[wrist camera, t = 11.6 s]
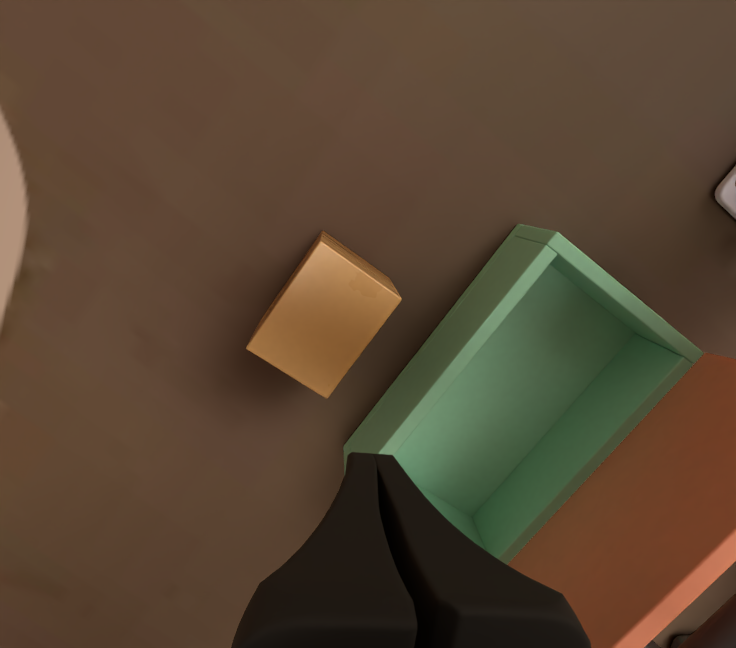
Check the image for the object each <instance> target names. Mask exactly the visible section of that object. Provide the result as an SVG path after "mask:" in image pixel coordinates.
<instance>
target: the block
mask: <svg viewBox="0 0 736 648" xmlns="http://www.w3.org/2000/svg"><path fill="white" fill-rule="evenodd" d="M401 300H402V298H401V297H400V295H399V293H398V292H397V290H396V288H395V287H394V285H393V283H392V282H391V280H390V279H389V277H387V276H386V275H384V274H383V273H382V272H380V271H379V270H378V269H376V268H375V267H373V266H372V265H371V264H369V263H368V262H366V261H365V260H364V259H362V258H361V257H359V256H358V255H357V254H355V253H354V252H352V251H351V250H350V249H348V248H347V247H345V246H344V245H343V244H341V243H340V242H339V241H337V240H336V239H334V238H333V237H332V236H330V235H329V234H327V233H326V232H325V231H322V232H321V233H320V235H319V236H318V238H317V239H316V240H315V242H314V243H313V245H312V246H311V248H310V249H309V251H308V252H307V253H306V255H305V256H304V258H303V259H302V261H301V262H300V264H299V265H298V266H297V268H296V269H295V271H294V272H293V274H292V275H291V277H290V278H289V279H288V281H287V282H286V284H285V285H284V287H283V288H282V290H281V291H280V293H279V294H278V295H277V297H276V298H275V300H274V301H273V303H272V304H271V306H270V307H269V308H268V310H267V311H266V313H265V314H264V316H263V317H262V319H261V321H260V322H259V324H258V326H257V328H256V330H255V332H254V334H253V335H252V337H251V339H250V341H249V343H248V345H247V347H246V349H247V350H249V351H250V352H252V353H254V354H255V355H257V356H259V357H260V358H262V359H263V360H265V361H267V362H268V363H270V364H271V365H273V366H275V367H276V368H278V369H279V370H281V371H283V372H284V373H286V374H287V375H289V376H291V377H292V378H294V379H295V380H297V381H299V382H300V383H302V384H303V385H305V386H307V387H308V388H310V389H312V390H313V391H315V392H316V393H318V394H320V395H321V396H323V397H324V398H326V399H327V398H328V397H329V396H330V394H331V393H332V392H333V390H334V389H335V388H336V386H337V385H338V384H339V382H340V381H341V380H342V378H343V377H344V376H345V374H346V373H347V372H348V370H349V369H350V368H351V366H352V365H353V364H354V362H355V361H356V360H357V359H358V357H359V356H360V355H361V353H362V352H363V351H364V349H365V348H366V347H367V345H368V344H369V343H370V341H371V340H372V339H373V337H374V336H375V335H376V333H377V332H378V331H379V329H380V328H381V327H382V325H383V324H384V323H385V321H386V320H387V319H388V317H389V316H390V315H391V313H392V312H393V311H394V310H395V308H396V307H397V306H398V304H399V303H400V302H401Z"/></svg>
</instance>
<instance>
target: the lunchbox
mask: <svg viewBox="0 0 736 648" xmlns="http://www.w3.org/2000/svg"><path fill="white" fill-rule="evenodd" d="M702 355H703V352H702V351H701V350H700V349H699V348H698V347H696V346H695V345H694V344H693V343H691V342H690V341H689V340H688V339H687V338H685V337H684V336H683V335H682V334H681V333H679V332H678V331H677V330H676V329H675V328H673V327H672V326H671V325H670V324H669V323H667V322H666V321H665V320H664V319H662V318H661V317H660V316H659V315H658V314H656V313H655V312H654V311H653V310H652V309H650V308H649V307H648V306H647V305H646V304H644V303H643V302H642V301H641V300H640V299H638V298H637V297H636V296H635V295H634V294H632V293H631V292H630V291H629V290H627V289H626V288H625V287H624V286H623V285H621V284H620V283H619V282H618V281H617V280H615V279H614V278H613V277H612V276H611V275H609V274H608V273H607V272H606V271H605V270H603V269H602V268H601V267H600V266H598V265H597V264H596V263H595V262H594V261H592V260H591V259H590V258H589V257H588V256H586V255H585V254H584V253H583V252H582V251H580V250H579V249H578V248H577V247H576V246H574V245H573V244H572V243H571V242H569V241H568V240H567V239H566V238H565V237H563V236H562V235H561V234H560V233H559V232H556V231H551V230H546V229H541V228H537V227H532V226H527V225H522V224H517V225H516V227H515V228H514V229H513V230H512V232H511V233H510V234H509V236H508V237H507V238H506V239H505V241H504V242H503V243H502V244H501V246H500V247H499V248H498V250H497V251H496V252H495V253H494V255H493V256H492V257H491V258H490V260H489V261H488V262H487V264H486V265H485V266H484V267H483V269H482V270H481V271H480V273H479V274H478V275H477V276H476V278H475V279H474V280H473V281H472V283H471V284H470V285H469V287H468V288H467V289H466V290H465V292H464V293H463V294H462V295H461V297H460V298H459V299H458V301H457V302H456V303H455V304H454V306H453V307H452V308H451V310H450V311H449V312H448V313H447V315H446V316H445V317H444V318H443V320H442V321H441V322H440V324H439V325H438V326H437V327H436V329H435V330H434V331H433V332H432V334H431V335H430V336H429V338H428V339H427V340H426V341H425V343H424V344H423V345H422V347H421V348H420V349H419V350H418V352H417V353H416V354H415V355H414V357H413V358H412V359H411V361H410V362H409V363H408V364H407V366H406V367H405V368H404V369H403V371H402V372H401V373H400V375H399V376H398V377H397V378H396V380H395V381H394V382H393V384H392V385H391V386H390V387H389V389H388V390H387V391H386V392H385V394H384V395H383V396H382V398H381V399H380V400H379V401H378V403H377V404H376V405H375V406H374V408H373V409H372V410H371V412H370V413H369V414H368V415H367V417H366V418H365V419H364V421H363V422H362V423H361V424H360V426H359V427H358V428H357V429H356V431H355V432H354V433H353V435H352V436H351V437H350V438H349V440H348V441H347V442H346V443H345V445H344V446H343V449H344V474H345V471H346V464H347V456H348V454H350V453H351V452H359V453H373V454H386V455H393V456H394V457H395V459H396V460H397V461H398V463H399V464H400V465H401V467H402V468H403V469H404V471H405V472H406V473H407V475H408V476H409V477H410V478H411V480H412V481H413V482H414V484H415V485H416V486H417V487H418V488H419V490H420V491H421V492H422V493H423V494H424V496H425V497H426V498H427V499H428V500H429V501H430V502H431V503H432V505H433V506H434V507H435V508H436V509H437V510H438V511H439V512H440V513H441V514H442V515H443V516H444V517H445V518H446V519H447V520H448V521H449V522H451V523H452V524H453V525H454V526H455V527H456V528H457V529H459V530H460V531H461V532H462V533H463V534H464V535H466V536H467V537H468V538H469V539H471V540H472V541H473V542H474V543H476V544H477V545H479V546H480V547H481V548H483V549H484V550H486V551H487V552H488V553H490V554H491V555H493V556H494V557H496V558H497V559H499V560H500V561H502V562H503V563H505V564H508V563H509V562H510V561H511V560H512V559H513V558H514V556H515V555H516V554H517V553H518V552H519V551H520V550H521V549H522V548H523V547H524V546H525V545H526V544H527V543H528V541H529V540H530V539H531V538H532V537H533V536H534V535H535V534H536V533H537V532H538V531H539V530H540V529H541V528H542V526H543V525H544V524H545V523H546V522H547V521H548V520H549V519H550V518H551V517H552V516H553V515H554V514H555V512H556V511H557V510H558V509H559V508H560V507H561V506H562V505H563V504H564V503H565V502H566V501H567V500H568V499H569V497H570V496H571V495H572V494H573V493H574V492H575V491H576V490H577V489H578V488H579V487H580V486H581V485H582V484H583V482H584V481H585V480H586V479H587V478H588V477H589V476H590V475H591V474H592V473H593V472H594V471H595V470H596V469H597V467H598V466H599V465H600V464H601V463H602V462H603V461H604V460H605V459H606V458H607V457H608V456H609V455H610V454H611V452H612V451H613V450H614V449H615V448H616V447H617V446H618V445H619V444H620V443H621V442H622V441H623V440H624V438H625V437H626V436H627V435H628V434H629V433H630V432H631V431H632V430H633V429H634V428H635V427H636V426H637V425H638V423H639V422H640V421H641V420H642V419H643V418H644V417H645V416H646V415H647V414H648V413H649V412H650V411H651V410H652V408H653V407H654V406H655V405H656V404H657V403H658V402H659V401H660V400H661V399H662V398H663V397H664V396H665V395H666V393H667V392H668V391H669V390H670V389H671V388H672V387H673V386H674V385H675V384H676V383H677V382H678V381H679V380H680V378H681V377H682V376H683V375H684V374H685V373H686V372H687V371H688V370H689V369H690V368H691V367H692V363H693V364H694V363H695V362H696V361H697V360H698V359H699V358H700V357H701V356H702Z"/></svg>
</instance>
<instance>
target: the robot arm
mask: <svg viewBox="0 0 736 648" xmlns="http://www.w3.org/2000/svg"><path fill="white" fill-rule="evenodd" d="M735 181H736V166H735V167H734V168H733V169H732V170H731V171H730V173H729V174H728V175H727V176H726V177H725V178H724V180H723V181H722V182H721V183H720V184H719V185H718V187H717V188H716V191H715V199H716V200H717V202H718V203H719V204H720V205H721V206H722V207H723V208H724V209H725V210H727V211H728V212H729V213H730V214H731V215H732V216H733V217H734V218H735V219H736V187H735ZM231 648H591V643H590V640H589V638H588V636H587V634H586V633H585V631H584V629H583V627H582V625H581V623H580V621H579V620H578V618H577V616H576V614H575V612H574V611H573V609H572V608H571V606H570V605H569V603H568V601H567V600H566V598H565V597H564V595H563V594H562V593H560V592H558V591H556V590H554V589H552V588H549V587H547V586H545V585H543V584H541V583H539V582H537V581H535V580H533V579H531V578H529V577H527V576H525V575H524V574H522V573H520V572H518V571H517V570H515V569H513V568H512V567H510V566H508V565H507V564H505V563H503V562H502V561H500V560H499V559H497V558H496V557H494V556H493V555H491V554H490V553H488V552H487V551H486V550H484V549H483V548H481V547H480V546H479V545H477V544H476V543H474V542H473V541H472V540H471V539H469V538H468V537H467V536H466V535H464V534H463V533H462V532H461V531H460V530H459V529H457V528H456V527H455V526H454V525H453V524H452V523H451V522H449V521H448V520H447V519H446V518H445V517H444V516H443V515H442V514H441V513H440V512H439V511H438V510H437V509H436V508H435V507H434V506H433V505H432V503H431V502H430V501H429V500H428V499H427V498H426V497H425V496H424V494H423V493H422V492H421V491H420V490H419V488H418V487H417V486H416V485H415V484H414V482H413V481H412V480H411V478H410V477H409V476H408V475H407V473H406V472H405V471H404V469H403V468H402V467H401V465H400V464H399V463H398V461H397V460H396V459H395V457H394V456H393V455H386V454H373V453H359V452H351V453H350V454H348V456H347V464H346V471H345V476H344V479H343V481H342V484H341V486H340V489H339V491H338V493H337V495H336V497H335V499H334V501H333V503H332V504H331V506H330V508H329V510H328V512H327V513H326V515H325V516H324V518H323V520H322V521H321V522H320V524H319V525H318V527H317V528H316V529H315V531H314V532H313V533H312V535H311V536H310V537H309V538H308V540H307V541H306V542H305V543H304V544H303V545H302V547H301V548H300V549H299V550H298V551H297V552H296V553H295V554H294V555H293V556H292V557H291V558H290V559H289V560H288V561H287V562H286V563H285V564H283V565H282V566H281V567H280V568H279V569H278V570H276V571H275V572H274V573H272V574H271V575H270V576H269V577H267V578H266V579H265V580H264V581H262V582H261V583H260V584H259V586H258V588H257V589H256V591H255V593H254V595H253V597H252V598H251V600H250V602H249V604H248V606H247V608H246V610H245V612H244V614H243V617H242V619H241V621H240V623H239V626H238V628H237V631H236V634H235V637H234V640H233V643H232V647H231Z"/></svg>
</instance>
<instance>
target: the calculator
mask: <svg viewBox="0 0 736 648" xmlns="http://www.w3.org/2000/svg"><path fill="white" fill-rule="evenodd" d="M689 636H690V635H680V636H677V637H676V638H675V639H674V641H673V643H672V645H671V648H677V647H679V646H680V645H681V644H682V643H683V642H684V641H685V640H686V639H687V638H688V637H689Z"/></svg>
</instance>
